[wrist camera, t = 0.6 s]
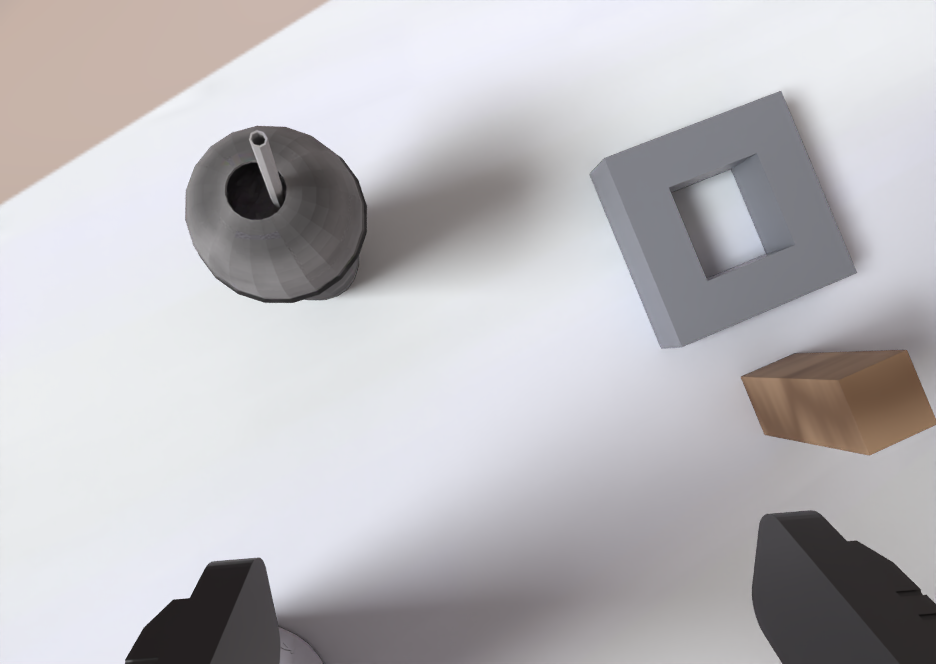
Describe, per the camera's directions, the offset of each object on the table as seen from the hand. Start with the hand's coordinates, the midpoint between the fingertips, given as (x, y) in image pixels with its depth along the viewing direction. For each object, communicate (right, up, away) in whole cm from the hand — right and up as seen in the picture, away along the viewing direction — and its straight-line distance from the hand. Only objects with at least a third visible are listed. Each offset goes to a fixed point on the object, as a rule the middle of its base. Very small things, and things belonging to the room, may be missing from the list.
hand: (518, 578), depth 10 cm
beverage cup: (-10, +8, +27) cm, 30 cm away
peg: (+19, 0, +29) cm, 35 cm away
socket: (+15, +11, +30) cm, 35 cm away
